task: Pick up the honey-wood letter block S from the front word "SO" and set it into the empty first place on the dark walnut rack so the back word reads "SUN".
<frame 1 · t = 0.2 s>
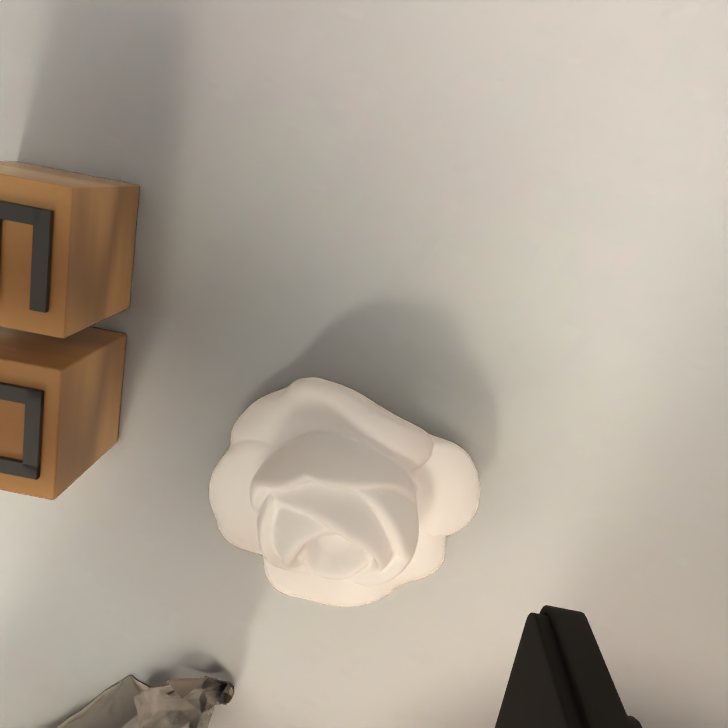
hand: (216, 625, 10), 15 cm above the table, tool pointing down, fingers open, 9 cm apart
letter block S: (74, 236, 24), on the table
rose: (348, 479, 26), on the table
letter block O: (65, 378, 26), on the table
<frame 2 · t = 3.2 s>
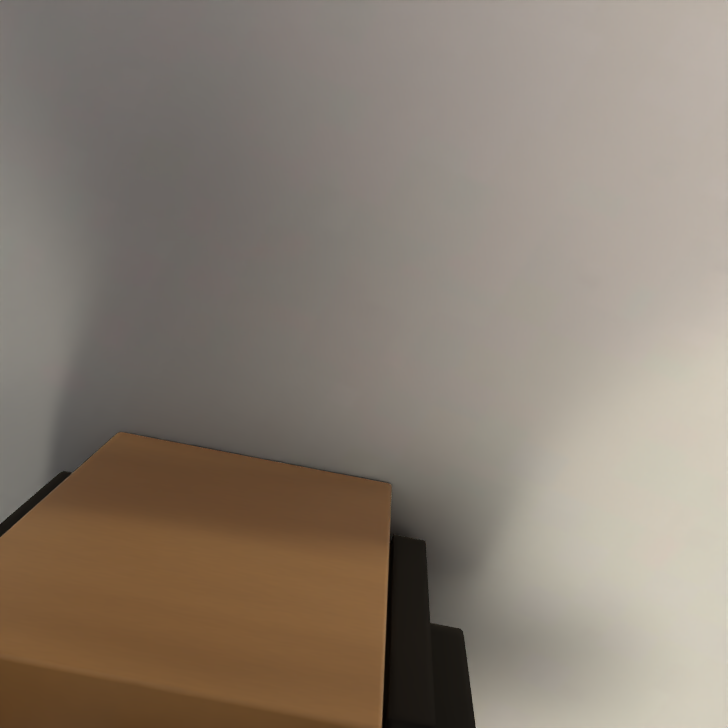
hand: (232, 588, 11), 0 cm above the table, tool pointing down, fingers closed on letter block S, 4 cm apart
letter block S: (237, 576, 11), on the table, touching gripper
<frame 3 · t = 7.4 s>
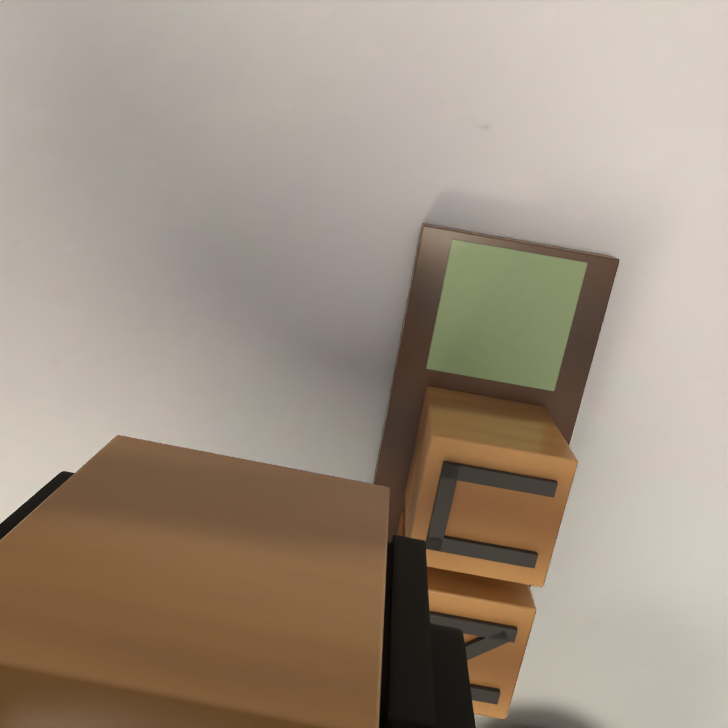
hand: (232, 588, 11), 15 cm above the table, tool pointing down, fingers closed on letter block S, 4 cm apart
letter block S: (236, 579, 11), point 15 cm above the table, touching gripper
word rack: (470, 440, 27), on the table
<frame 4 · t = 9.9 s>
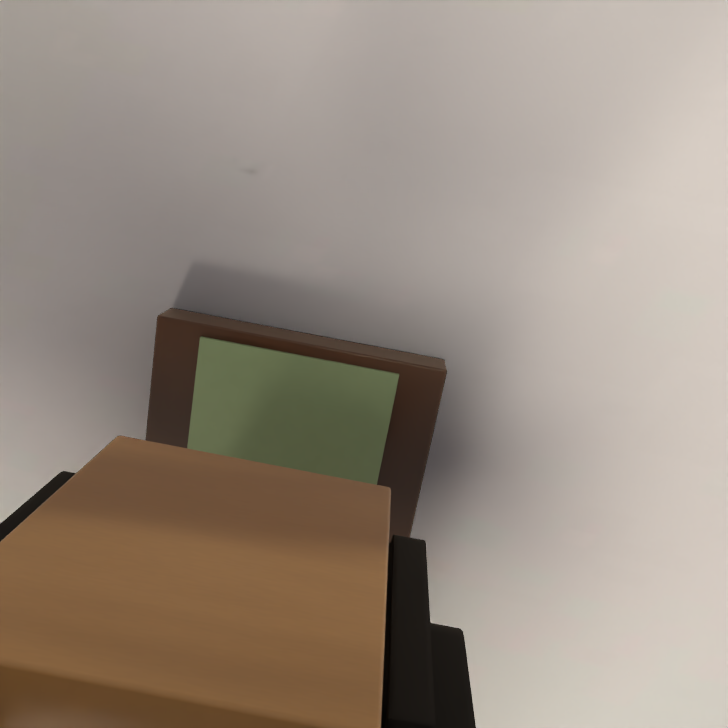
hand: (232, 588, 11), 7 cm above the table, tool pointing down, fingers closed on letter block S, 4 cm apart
letter block S: (237, 579, 11), point 6 cm above the table, touching gripper
word rack: (264, 602, 19), on the table
when the fingers open (1 cm above the table, at t = 11.5 s): letter block S stays where it is, resting on word rack.
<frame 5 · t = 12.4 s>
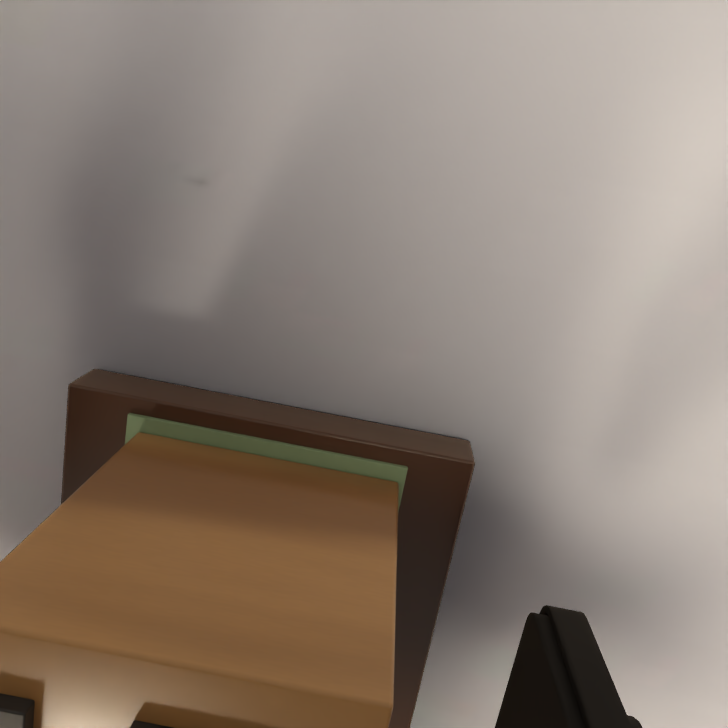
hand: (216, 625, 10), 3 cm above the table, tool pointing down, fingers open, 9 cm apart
letter block S: (250, 570, 12), point 1 cm above the table, touching word rack
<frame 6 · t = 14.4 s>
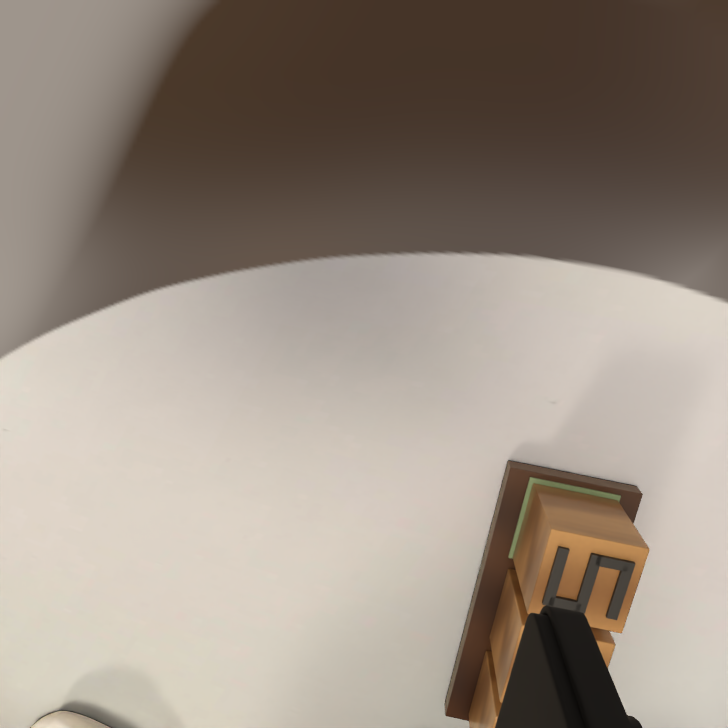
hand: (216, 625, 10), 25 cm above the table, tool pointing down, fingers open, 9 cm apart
letter block S: (564, 529, 36), point 1 cm above the table, touching word rack
word rack: (535, 601, 38), on the table
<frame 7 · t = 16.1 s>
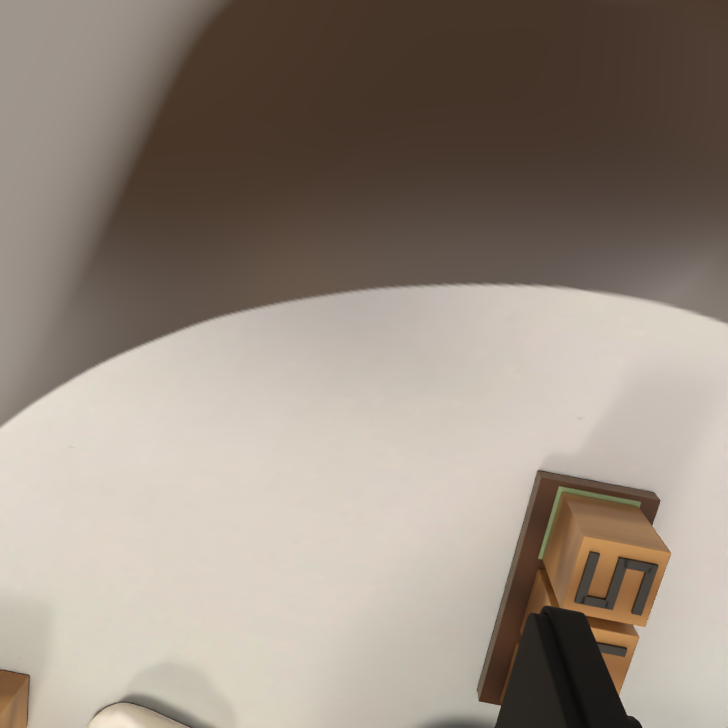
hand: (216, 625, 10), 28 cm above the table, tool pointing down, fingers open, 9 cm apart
letter block S: (589, 532, 39), point 1 cm above the table, touching word rack
word rack: (561, 596, 42), on the table
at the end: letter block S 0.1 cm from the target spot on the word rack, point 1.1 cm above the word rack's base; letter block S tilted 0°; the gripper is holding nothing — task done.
